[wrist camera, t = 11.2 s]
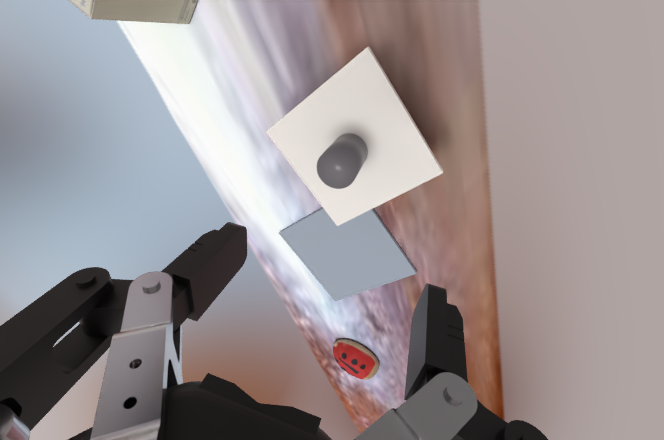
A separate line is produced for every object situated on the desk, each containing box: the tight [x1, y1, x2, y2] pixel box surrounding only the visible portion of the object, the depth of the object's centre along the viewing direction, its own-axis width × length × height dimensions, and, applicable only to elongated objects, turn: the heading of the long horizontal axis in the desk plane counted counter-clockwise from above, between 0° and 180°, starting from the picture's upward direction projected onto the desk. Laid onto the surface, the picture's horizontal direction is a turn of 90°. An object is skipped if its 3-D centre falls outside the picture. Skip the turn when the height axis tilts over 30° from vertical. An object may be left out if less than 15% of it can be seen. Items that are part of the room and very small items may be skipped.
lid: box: [266, 47, 443, 226], centre depth 29 cm, size 13×13×6 cm
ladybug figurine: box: [333, 339, 379, 379], centre depth 56 cm, size 7×10×4 cm
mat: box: [279, 208, 417, 301], centre depth 46 cm, size 15×15×1 cm
